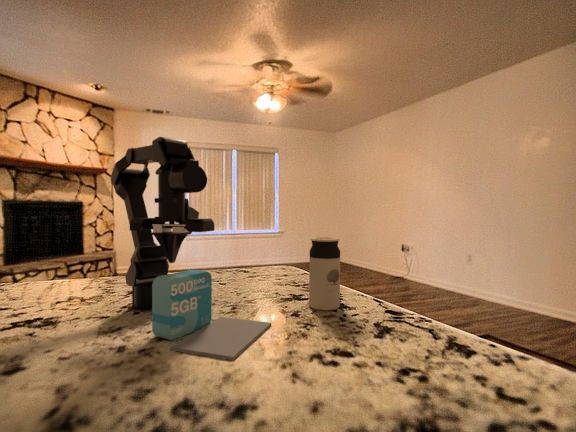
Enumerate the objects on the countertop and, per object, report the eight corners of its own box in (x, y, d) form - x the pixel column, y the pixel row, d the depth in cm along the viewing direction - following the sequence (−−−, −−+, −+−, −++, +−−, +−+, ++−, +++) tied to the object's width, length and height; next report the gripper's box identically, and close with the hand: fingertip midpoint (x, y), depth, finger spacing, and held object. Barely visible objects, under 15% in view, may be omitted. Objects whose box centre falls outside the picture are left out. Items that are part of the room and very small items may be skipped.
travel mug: (304, 303, 91) (305, 237, 91) (331, 301, 94) (332, 236, 93) (316, 312, 84) (316, 239, 83) (345, 309, 86) (345, 239, 86)
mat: (170, 350, 61) (170, 346, 61) (220, 319, 78) (220, 316, 78) (233, 360, 57) (233, 356, 57) (271, 325, 74) (271, 322, 74)
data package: (167, 343, 64) (167, 280, 64) (151, 338, 67) (151, 277, 66) (212, 324, 74) (212, 270, 74) (197, 321, 77) (197, 268, 77)
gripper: (225, 195, 82) (225, 259, 82) (159, 195, 87) (159, 256, 87) (201, 193, 71) (201, 266, 72) (127, 193, 76) (127, 262, 77)
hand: (171, 262), depth 77 cm, fingers closed
